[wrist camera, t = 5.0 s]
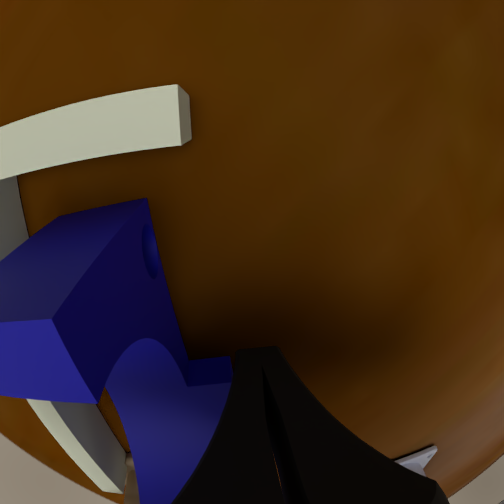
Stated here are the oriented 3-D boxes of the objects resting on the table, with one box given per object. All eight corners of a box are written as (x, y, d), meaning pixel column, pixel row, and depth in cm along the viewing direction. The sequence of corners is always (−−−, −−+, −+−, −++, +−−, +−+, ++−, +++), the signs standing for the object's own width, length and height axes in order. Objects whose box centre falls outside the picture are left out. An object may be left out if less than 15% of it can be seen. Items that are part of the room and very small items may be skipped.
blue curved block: (248, 437, 13) (263, 545, 8) (161, 444, 13) (154, 546, 8) (199, 187, 9) (168, 307, 3) (61, 214, 8) (-66, 323, 3)
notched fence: (233, 457, 14) (237, 496, 12) (109, 455, 13) (102, 490, 11) (189, 95, 7) (177, 84, 5) (-13, 143, 7) (-63, 155, 5)
